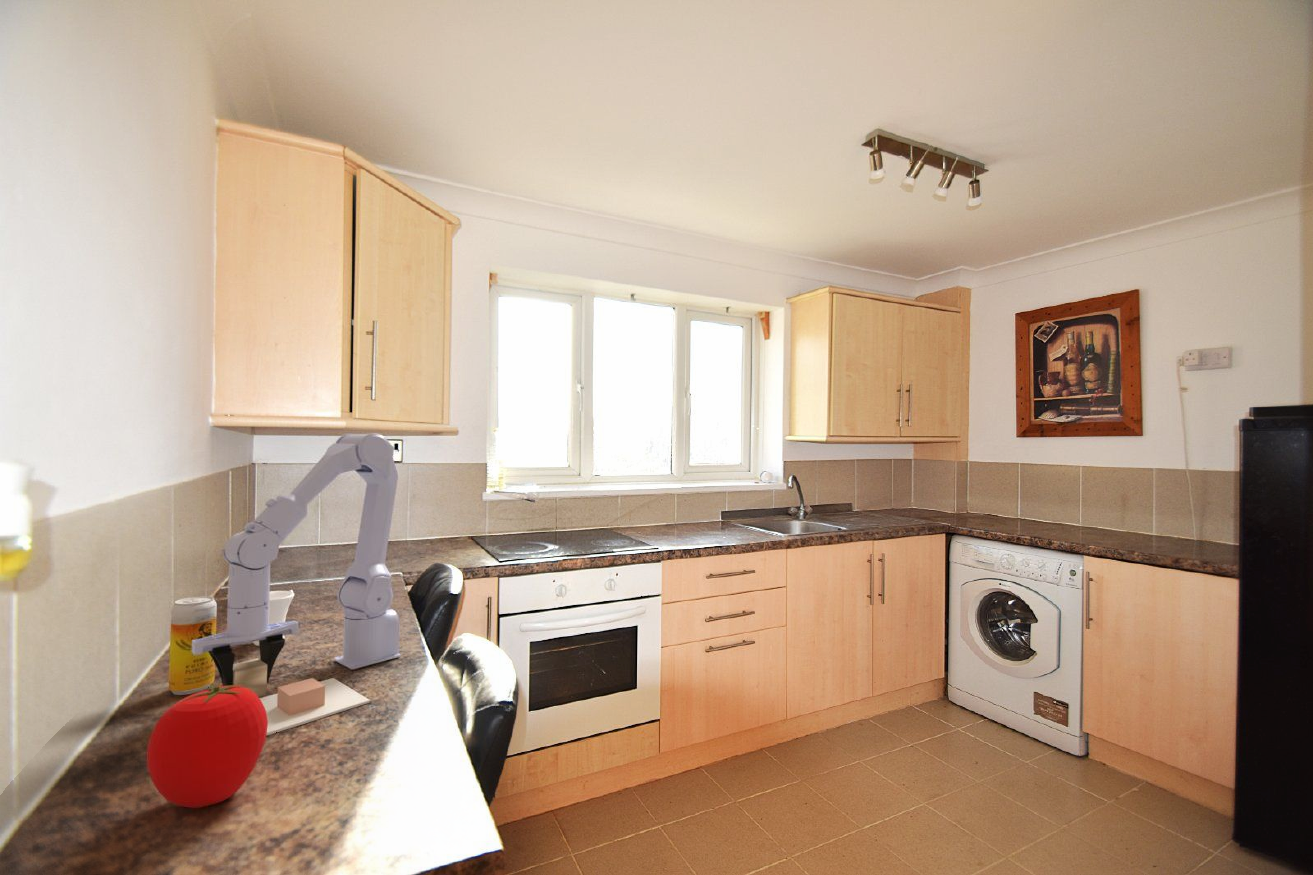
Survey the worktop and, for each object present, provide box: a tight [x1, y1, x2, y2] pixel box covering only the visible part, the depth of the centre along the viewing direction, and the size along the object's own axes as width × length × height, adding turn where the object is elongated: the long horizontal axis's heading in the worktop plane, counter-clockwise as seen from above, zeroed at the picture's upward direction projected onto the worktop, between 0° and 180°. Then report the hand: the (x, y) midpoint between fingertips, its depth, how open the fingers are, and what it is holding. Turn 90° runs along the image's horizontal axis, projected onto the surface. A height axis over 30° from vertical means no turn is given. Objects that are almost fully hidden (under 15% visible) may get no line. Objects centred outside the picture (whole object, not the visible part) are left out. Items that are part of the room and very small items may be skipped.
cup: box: [252, 589, 295, 647], centre depth 123 cm, size 9×9×10 cm
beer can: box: [168, 595, 218, 696], centre depth 99 cm, size 6×6×15 cm
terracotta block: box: [277, 677, 325, 716], centre depth 92 cm, size 5×5×3 cm
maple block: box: [232, 658, 268, 698], centre depth 96 cm, size 4×4×5 cm
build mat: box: [259, 677, 371, 737], centre depth 92 cm, size 16×14×1 cm
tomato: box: [146, 683, 268, 809], centre depth 68 cm, size 11×11×13 cm
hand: (246, 686), depth 96 cm, fingers closed on maple block, 4 cm apart
